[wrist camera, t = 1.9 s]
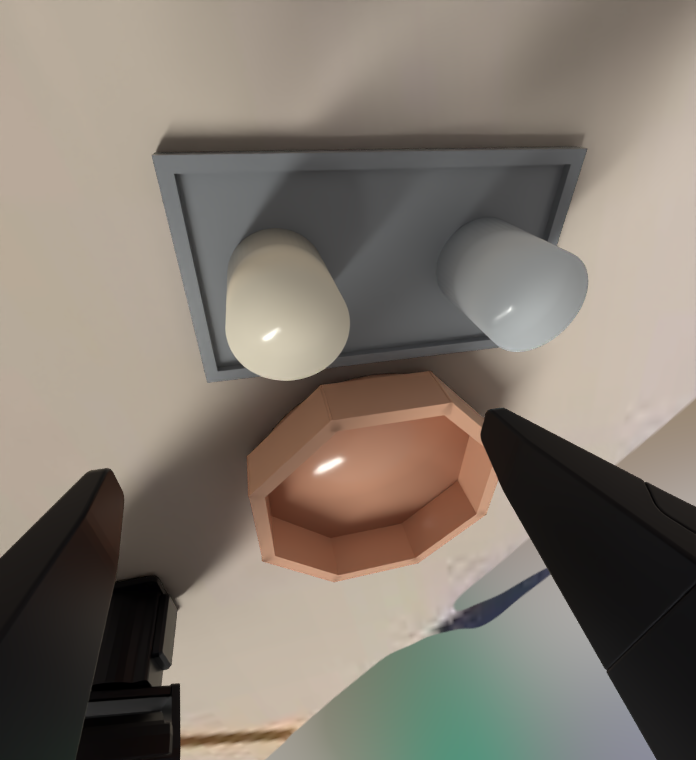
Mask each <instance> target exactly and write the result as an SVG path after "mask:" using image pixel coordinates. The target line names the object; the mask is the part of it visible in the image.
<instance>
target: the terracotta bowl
mask: <svg viewBox="0 0 696 760" xmlns="http://www.w3.org/2000/svg"><path fill="white" fill-rule="evenodd" d="M483 422H484V418H483V417H482V416H481V415H480V414H479V413H477V412H476V411H475V410H474V409H473V408H472V407H471V406H469V405H468V404H467V403H466V402H465V401H464V400H463V399H461V398H460V397H459V396H458V395H457V394H456V393H455V392H453V391H452V390H451V389H450V388H449V387H448V386H447V385H445V384H444V383H443V382H442V381H441V380H440V379H439V378H438V377H436V376H435V375H434V374H433V373H432V371H430V370H429V371H425V372H417V373H410V374H376V375H369V376H364V377H358V378H354V379H351V380H348V381H344V382H340V383H332V384H325V385H322V384H321V385H319V387H318V388H317V389H316V390H315V391H314V392H313V393H312V394H311V395H310V396H309V397H308V398H307V399H306V400H305V401H303V402H302V403H300V404H299V405H298V406H296V407H295V408H294V409H293V410H291V411H290V412H289V413H288V414H287V415H286V416H285V417H284V418H283V419H282V420H281V421H280V422H279V423H278V424H277V425H276V426H275V428H274V429H273V430H272V432H271V433H270V435H269V436H268V437H267V438H266V439H265V440H264V441H263V442H261V443H260V444H259V445H258V446H257V447H256V448H255V449H254V450H253V451H252V452H251V453H250V454H249V455H247V477H248V497H249V498H250V503H251V508H252V513H253V517H254V522H255V527H256V531H257V536H258V541H259V546H260V550H261V555H262V561H263V562H266V563H270V564H273V565H277V566H280V567H284V568H287V569H291V570H294V571H297V572H301V573H304V574H308V575H311V576H315V577H318V578H322V579H325V580H328V581H332V582H337V581H342V580H346V579H350V578H355V577H359V576H364V575H368V574H372V573H377V572H381V571H385V570H390V569H394V568H399V567H403V566H407V565H412V564H416V563H417V564H418V563H419V562H420V561H422V560H423V559H425V558H426V557H427V556H429V555H430V554H432V553H433V552H434V551H436V550H437V549H439V548H440V547H441V546H443V545H444V544H446V543H447V542H448V541H450V540H451V539H453V538H454V537H455V536H457V535H458V534H460V533H461V532H462V531H464V530H465V529H467V528H468V527H469V526H471V525H472V524H474V523H475V522H476V521H478V520H479V519H481V518H482V517H483V516H485V515H486V513H487V510H488V508H489V505H490V502H491V499H492V496H493V493H494V491H495V488H496V485H497V482H498V478H497V476H496V473H495V471H494V469H493V467H492V464H491V462H490V460H489V457H488V455H487V453H486V451H485V448H484V446H483V444H482V441H481V437H480V433H481V429H482V425H483Z"/></svg>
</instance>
